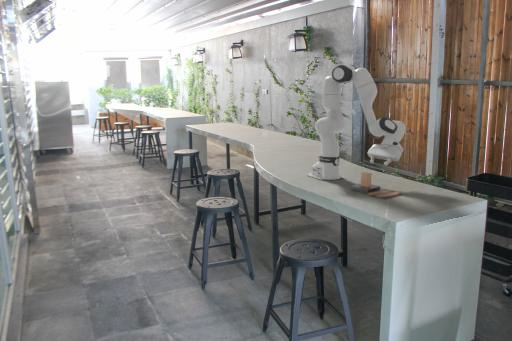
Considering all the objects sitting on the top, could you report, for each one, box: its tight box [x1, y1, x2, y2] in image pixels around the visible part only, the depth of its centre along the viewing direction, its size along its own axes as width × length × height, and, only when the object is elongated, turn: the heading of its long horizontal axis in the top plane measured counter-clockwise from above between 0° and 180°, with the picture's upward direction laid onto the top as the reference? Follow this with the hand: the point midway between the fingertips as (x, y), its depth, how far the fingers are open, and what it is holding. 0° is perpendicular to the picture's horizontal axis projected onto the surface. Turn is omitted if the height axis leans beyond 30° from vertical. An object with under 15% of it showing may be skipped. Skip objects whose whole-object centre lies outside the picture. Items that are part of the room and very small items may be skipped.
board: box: [367, 188, 403, 200], centre depth 252 cm, size 11×16×1 cm
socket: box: [350, 183, 381, 195], centre depth 261 cm, size 11×11×2 cm
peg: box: [360, 171, 372, 188], centre depth 261 cm, size 4×4×10 cm
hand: (378, 163), depth 265 cm, fingers open, 8 cm apart
